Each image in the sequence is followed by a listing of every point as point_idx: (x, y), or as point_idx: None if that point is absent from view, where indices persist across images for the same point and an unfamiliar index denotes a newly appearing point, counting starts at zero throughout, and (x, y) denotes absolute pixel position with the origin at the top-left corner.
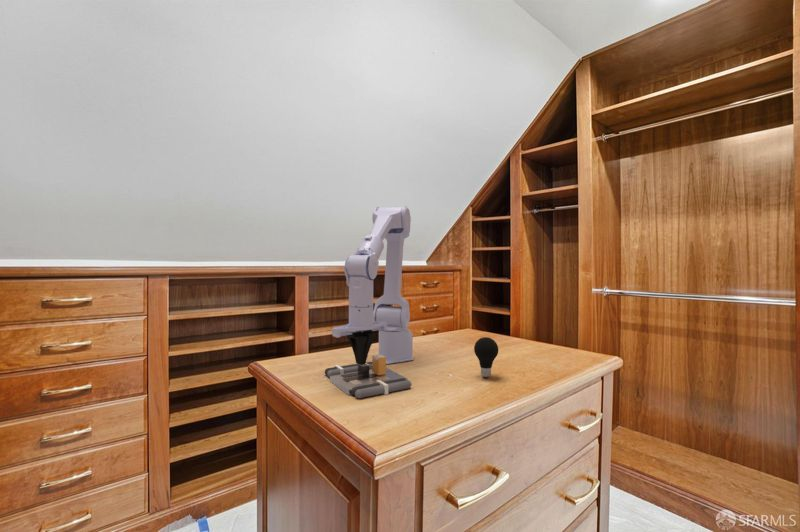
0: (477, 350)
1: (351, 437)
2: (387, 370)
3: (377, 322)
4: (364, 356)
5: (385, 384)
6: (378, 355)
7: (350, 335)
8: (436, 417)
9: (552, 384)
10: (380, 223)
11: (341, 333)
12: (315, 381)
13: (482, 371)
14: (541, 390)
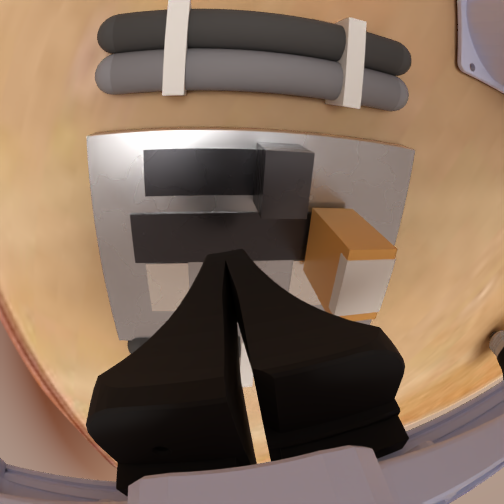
0: None
1: (95, 448)
2: (391, 202)
3: (500, 467)
4: (242, 338)
5: (246, 380)
6: (373, 272)
7: (126, 464)
8: (257, 452)
9: (492, 381)
10: None
11: (34, 496)
12: (39, 107)
13: (495, 346)
14: (464, 398)
